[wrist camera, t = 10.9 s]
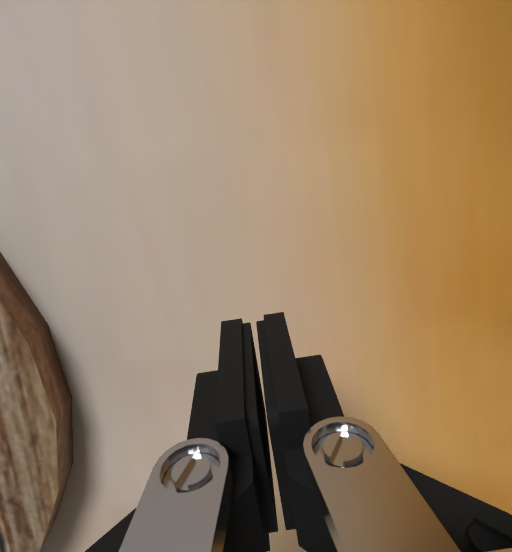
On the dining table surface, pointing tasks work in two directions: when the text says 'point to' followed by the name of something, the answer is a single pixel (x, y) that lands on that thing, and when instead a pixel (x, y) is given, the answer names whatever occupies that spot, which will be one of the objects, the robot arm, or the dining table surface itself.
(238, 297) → the dining table surface
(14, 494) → the trivet
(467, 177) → the dining table surface
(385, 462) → the robot arm
